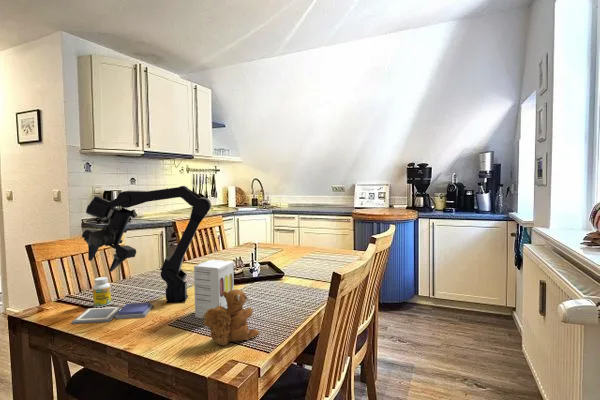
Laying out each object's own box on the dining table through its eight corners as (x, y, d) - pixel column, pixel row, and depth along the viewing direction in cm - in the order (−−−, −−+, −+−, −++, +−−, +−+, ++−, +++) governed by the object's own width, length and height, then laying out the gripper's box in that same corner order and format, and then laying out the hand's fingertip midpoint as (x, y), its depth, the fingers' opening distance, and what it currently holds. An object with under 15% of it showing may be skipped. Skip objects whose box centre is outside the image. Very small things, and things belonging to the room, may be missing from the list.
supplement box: (219, 321, 109) (217, 268, 108) (194, 317, 112) (192, 265, 111) (235, 310, 118) (234, 261, 117) (211, 307, 121) (210, 258, 120)
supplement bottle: (110, 301, 127) (109, 275, 127) (112, 306, 123) (110, 279, 122) (93, 304, 124) (91, 277, 124) (94, 309, 120) (92, 281, 119)
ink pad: (153, 306, 122) (152, 301, 122) (145, 317, 113) (144, 311, 113) (125, 308, 121) (125, 303, 121) (115, 318, 112) (115, 313, 112)
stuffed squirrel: (261, 335, 100) (261, 289, 99) (220, 354, 90) (219, 304, 89) (239, 325, 107) (238, 282, 106) (198, 342, 96) (197, 295, 95)
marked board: (122, 308, 121) (122, 306, 121) (109, 321, 110) (109, 319, 110) (88, 310, 119) (88, 307, 119) (71, 323, 108) (71, 321, 108)
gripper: (77, 213, 117) (59, 256, 117) (123, 235, 113) (104, 280, 113) (102, 214, 128) (86, 254, 128) (144, 235, 124) (127, 276, 124)
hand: (100, 266), depth 123 cm, fingers open, 9 cm apart
